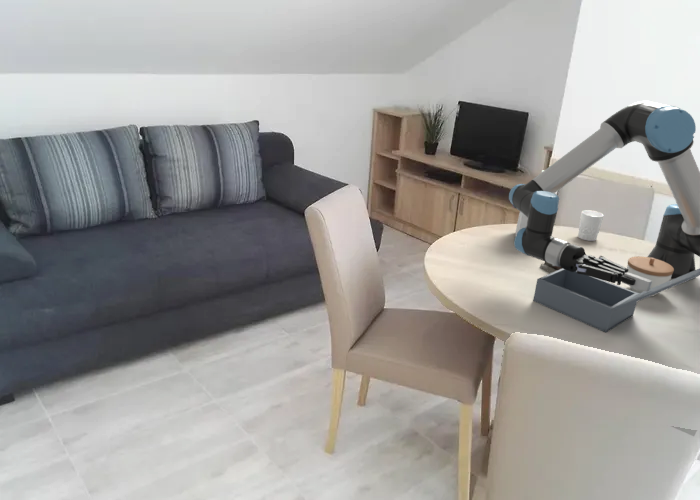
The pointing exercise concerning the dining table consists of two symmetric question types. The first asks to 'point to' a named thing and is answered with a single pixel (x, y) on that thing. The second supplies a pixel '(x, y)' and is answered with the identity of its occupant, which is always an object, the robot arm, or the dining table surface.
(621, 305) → the lid
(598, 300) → the mailer box
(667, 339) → the dining table surface
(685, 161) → the robot arm
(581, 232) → the white cup
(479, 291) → the dining table surface
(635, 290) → the lidded bowl
